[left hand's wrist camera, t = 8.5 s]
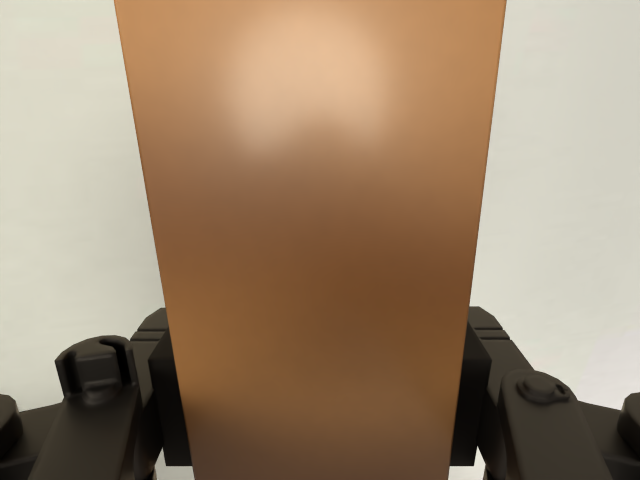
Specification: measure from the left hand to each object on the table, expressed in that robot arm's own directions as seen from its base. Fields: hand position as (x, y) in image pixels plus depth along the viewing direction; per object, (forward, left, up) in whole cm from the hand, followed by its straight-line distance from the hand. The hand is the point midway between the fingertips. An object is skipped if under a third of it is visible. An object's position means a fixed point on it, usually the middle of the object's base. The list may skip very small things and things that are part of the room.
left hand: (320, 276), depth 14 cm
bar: (+16, +17, -1) cm, 24 cm away
